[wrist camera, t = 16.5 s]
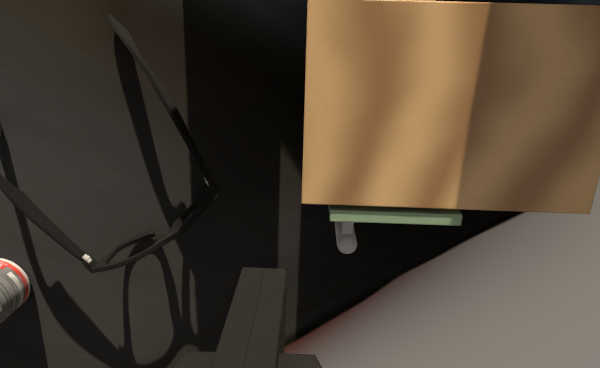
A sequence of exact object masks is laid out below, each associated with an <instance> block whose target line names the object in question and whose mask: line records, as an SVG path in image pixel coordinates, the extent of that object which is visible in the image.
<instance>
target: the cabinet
mask: <svg viewBox="0 0 600 368" xmlns="http://www.w3.org/2000/svg"><path fill="white" fill-rule="evenodd" d="M599 176H600V5H573V4H534V3H496V2H457V1H418V0H307V33H306V67H305V101H304V134H303V168H302V202H301V203H302V204H322V205H351V206H380V207H409V208H437V209H466V210H495V211H523V212H552V213H581V214H590V210H591V207H592V203H593V199H594V195H595V191H596V187H597V183H598V180H599Z"/></svg>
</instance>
